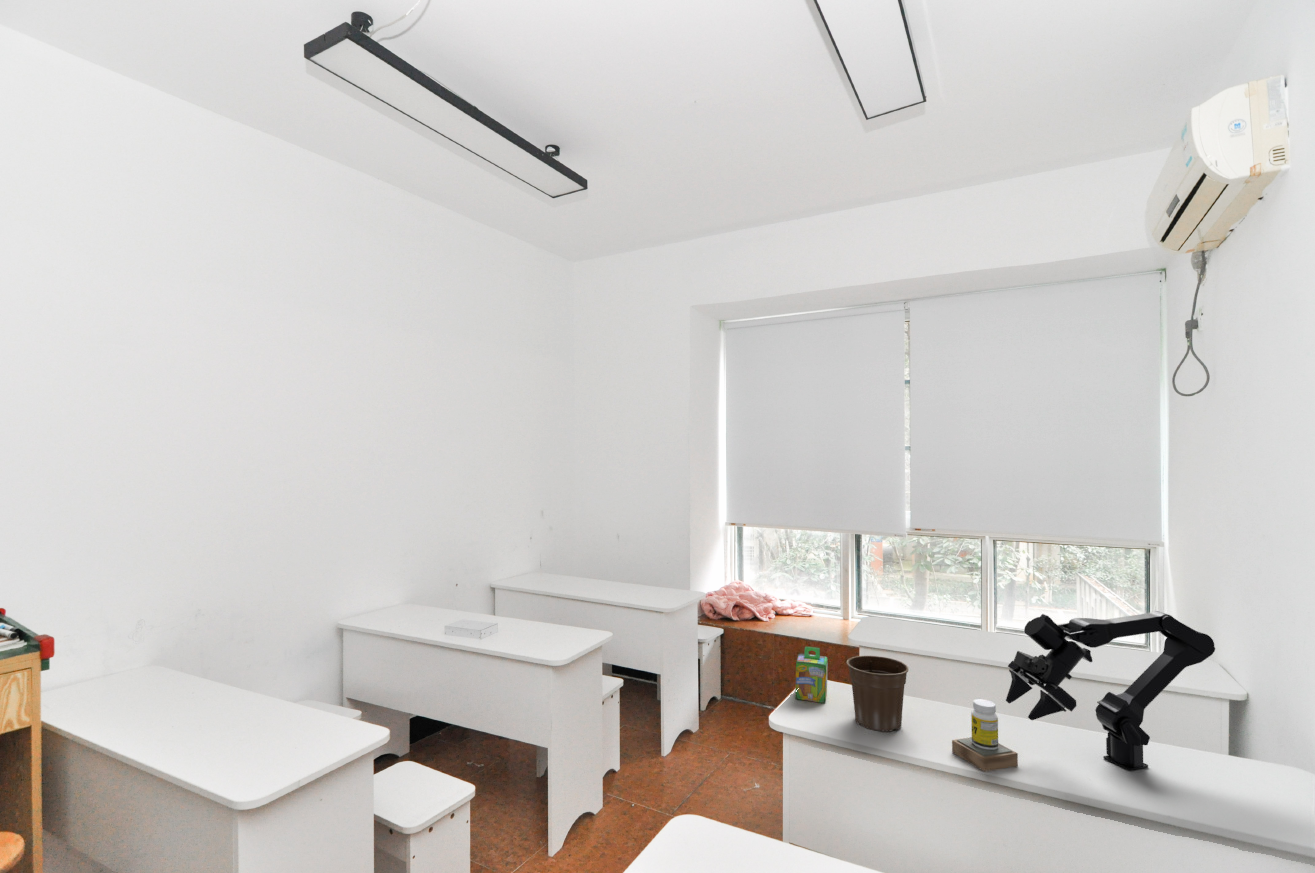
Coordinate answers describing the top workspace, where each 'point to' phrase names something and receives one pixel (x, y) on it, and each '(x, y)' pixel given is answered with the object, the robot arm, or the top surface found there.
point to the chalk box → (811, 676)
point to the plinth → (985, 755)
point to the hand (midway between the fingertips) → (1018, 710)
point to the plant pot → (878, 691)
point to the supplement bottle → (984, 724)
